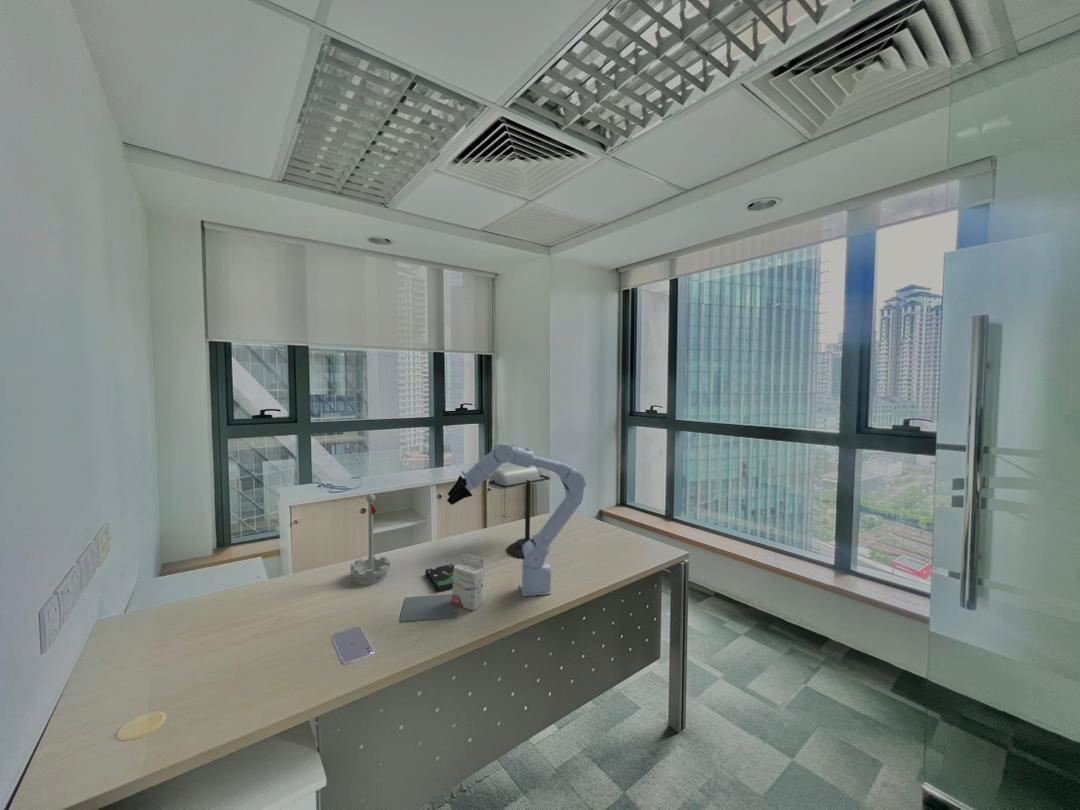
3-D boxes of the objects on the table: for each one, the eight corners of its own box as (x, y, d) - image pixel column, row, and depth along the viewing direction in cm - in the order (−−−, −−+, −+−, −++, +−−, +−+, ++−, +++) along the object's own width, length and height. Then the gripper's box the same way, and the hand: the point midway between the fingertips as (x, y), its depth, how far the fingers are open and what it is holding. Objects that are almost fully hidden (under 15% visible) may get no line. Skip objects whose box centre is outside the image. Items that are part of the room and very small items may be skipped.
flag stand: (345, 576, 151) (345, 493, 150) (382, 566, 160) (382, 487, 158) (357, 590, 141) (357, 501, 140) (396, 579, 150) (396, 495, 149)
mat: (456, 594, 140) (456, 593, 140) (456, 617, 126) (456, 616, 126) (405, 598, 137) (405, 597, 136) (399, 622, 123) (399, 621, 123)
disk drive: (424, 577, 153) (438, 594, 141) (424, 569, 153) (438, 585, 141) (452, 571, 159) (467, 586, 146) (452, 563, 159) (467, 578, 146)
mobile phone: (360, 624, 120) (375, 652, 108) (360, 628, 120) (375, 655, 108) (330, 633, 116) (343, 663, 104) (330, 637, 116) (343, 667, 104)
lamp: (527, 533, 198) (528, 461, 196) (564, 548, 180) (566, 469, 178) (479, 547, 180) (480, 468, 178) (516, 566, 162) (517, 478, 161)
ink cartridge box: (450, 603, 133) (453, 557, 132) (460, 597, 137) (462, 552, 137) (473, 611, 129) (476, 563, 129) (482, 604, 134) (485, 558, 133)
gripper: (472, 458, 145) (441, 485, 143) (474, 466, 130) (440, 496, 129) (486, 473, 146) (455, 500, 144) (489, 482, 131) (455, 512, 130)
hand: (449, 499), depth 137 cm, fingers open, 7 cm apart
